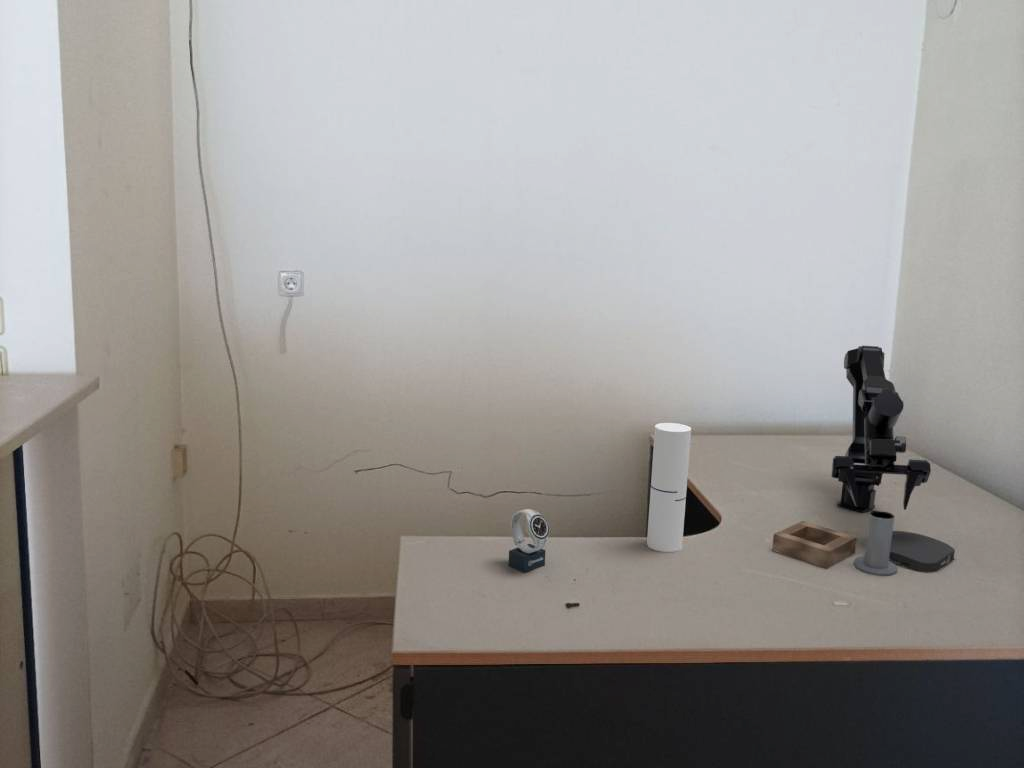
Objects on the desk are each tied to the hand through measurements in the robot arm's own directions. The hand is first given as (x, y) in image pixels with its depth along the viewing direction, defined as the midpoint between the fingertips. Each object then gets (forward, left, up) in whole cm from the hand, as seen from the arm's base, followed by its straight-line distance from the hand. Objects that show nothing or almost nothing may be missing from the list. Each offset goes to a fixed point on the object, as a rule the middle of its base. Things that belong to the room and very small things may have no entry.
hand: (880, 507), depth 188 cm
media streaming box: (+5, +4, -10) cm, 12 cm away
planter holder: (-8, -10, -9) cm, 16 cm away
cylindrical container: (-30, -31, -10) cm, 45 cm away
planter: (+4, -8, -9) cm, 13 cm away
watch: (-41, -60, -10) cm, 74 cm away
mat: (+4, -8, -9) cm, 13 cm away
